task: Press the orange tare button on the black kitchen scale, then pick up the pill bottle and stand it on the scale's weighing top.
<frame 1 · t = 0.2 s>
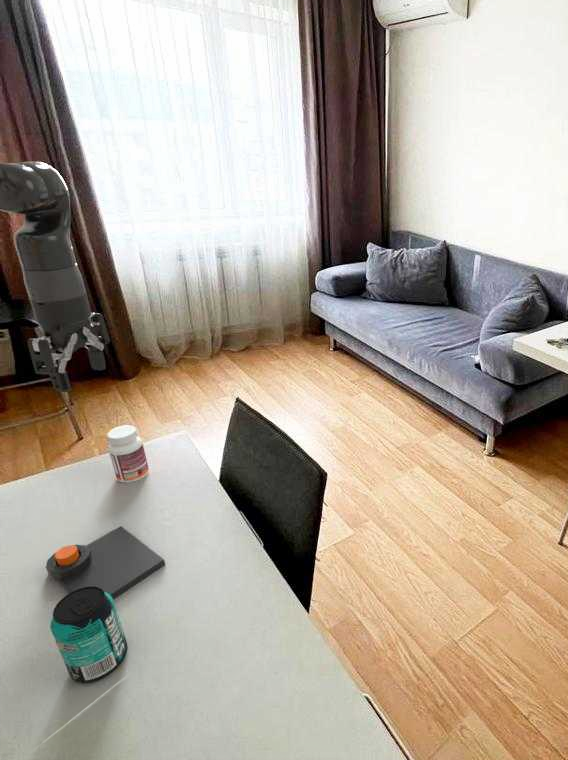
hand: (82, 379, 88), 28 cm above the table, tool pointing down, fingers open, 8 cm apart
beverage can: (100, 662, 71), on the table
tare button: (67, 555, 83), point 4 cm above the table, slide at 0.1 cm
scale: (108, 569, 85), on the table
pill bottle: (133, 475, 108), on the table
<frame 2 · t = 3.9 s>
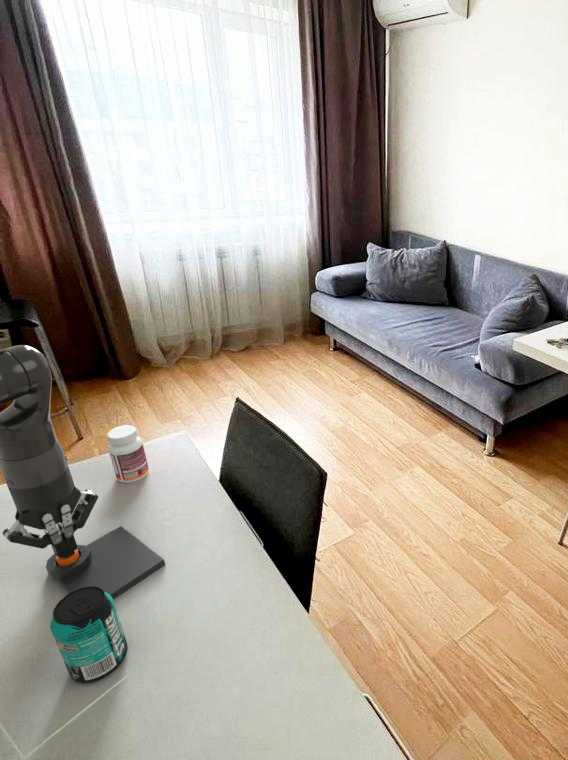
hand: (67, 554, 83), 4 cm above the table, tool pointing down, fingers closed
tare button: (68, 558, 83), point 3 cm above the table, slide at -0.4 cm, touching gripper
everything else where it was.
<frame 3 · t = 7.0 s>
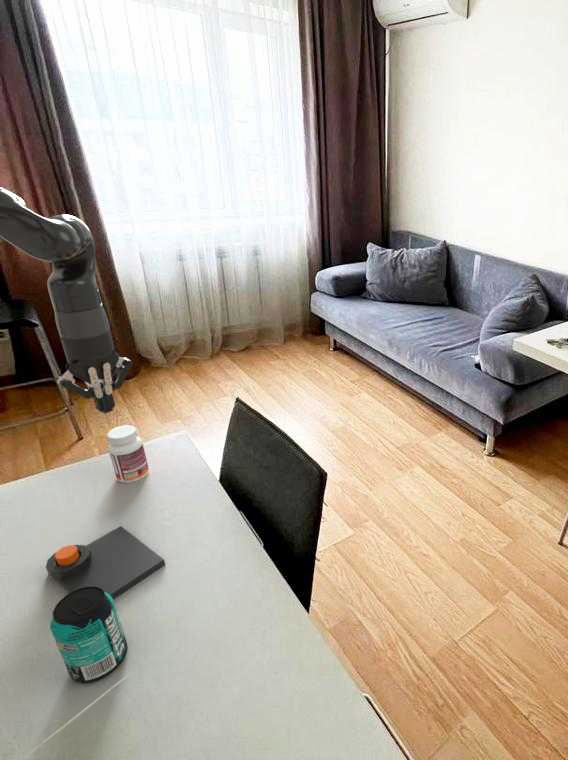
hand: (106, 411, 97), 19 cm above the table, tool pointing down, fingers closed
tare button: (67, 555, 83), point 4 cm above the table, slide at 0.1 cm
everything else where it was.
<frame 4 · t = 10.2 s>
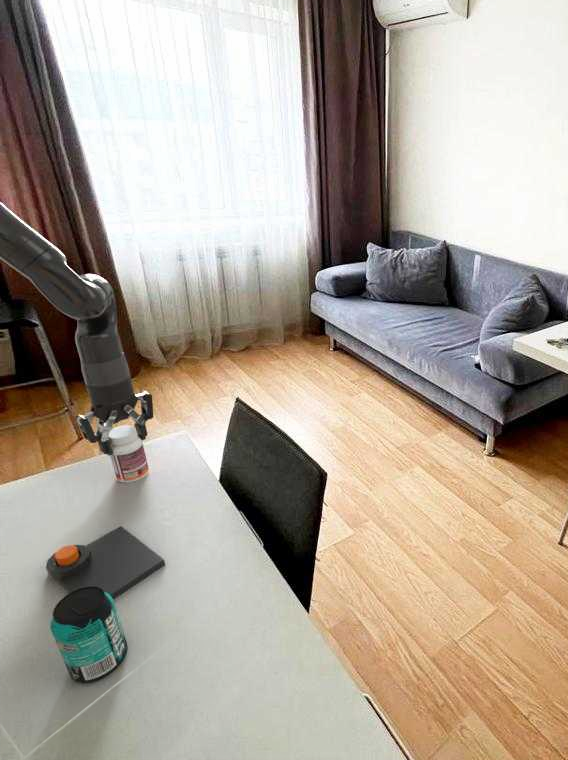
hand: (125, 445, 105), 8 cm above the table, tool pointing down, fingers closed on pill bottle, 6 cm apart
pill bottle: (133, 475, 108), on the table, touching gripper
everything else where it was.
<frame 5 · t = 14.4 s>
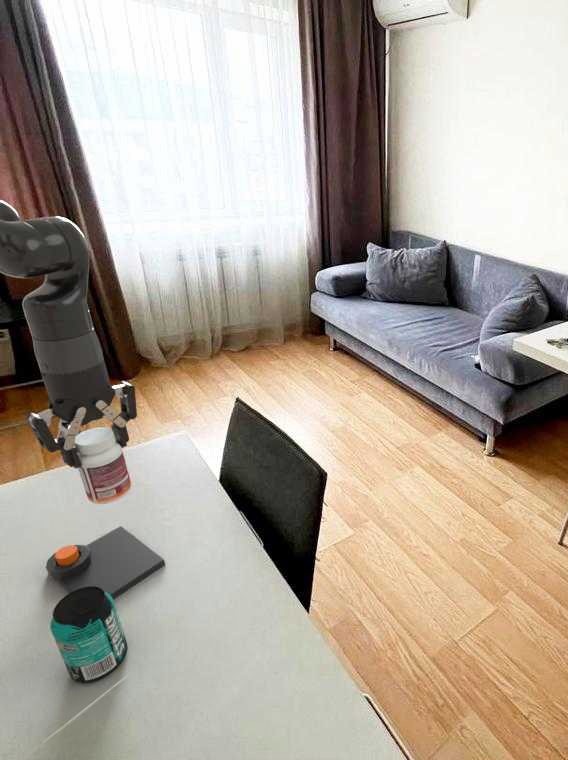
hand: (99, 455, 78), 22 cm above the table, tool pointing down, fingers closed on pill bottle, 6 cm apart
pill bottle: (110, 493, 82), point 15 cm above the table, touching gripper
everything else where it was.
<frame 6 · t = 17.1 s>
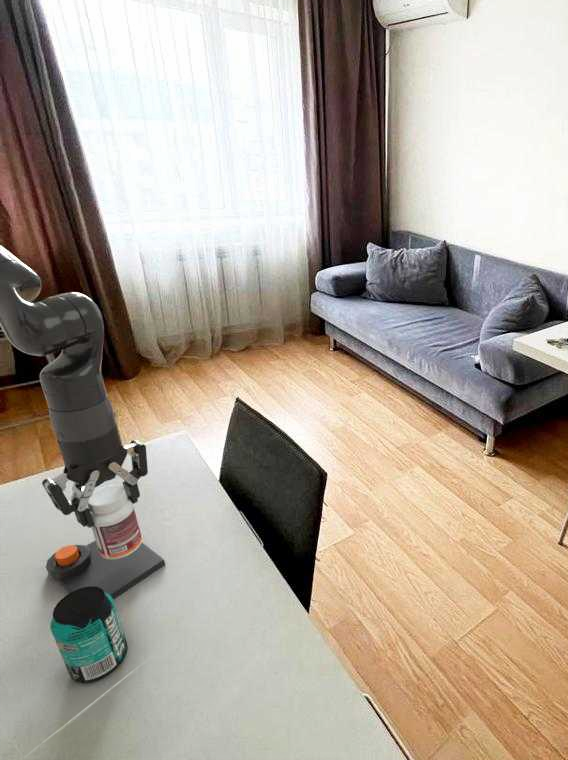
hand: (111, 512, 81), 13 cm above the table, tool pointing down, fingers closed on pill bottle, 6 cm apart
pill bottle: (121, 547, 84), point 5 cm above the table, touching gripper
everything else where it was.
when the fingers open (9 cm above the table, at t = 18.9 s): pill bottle stays where it is, resting on scale.
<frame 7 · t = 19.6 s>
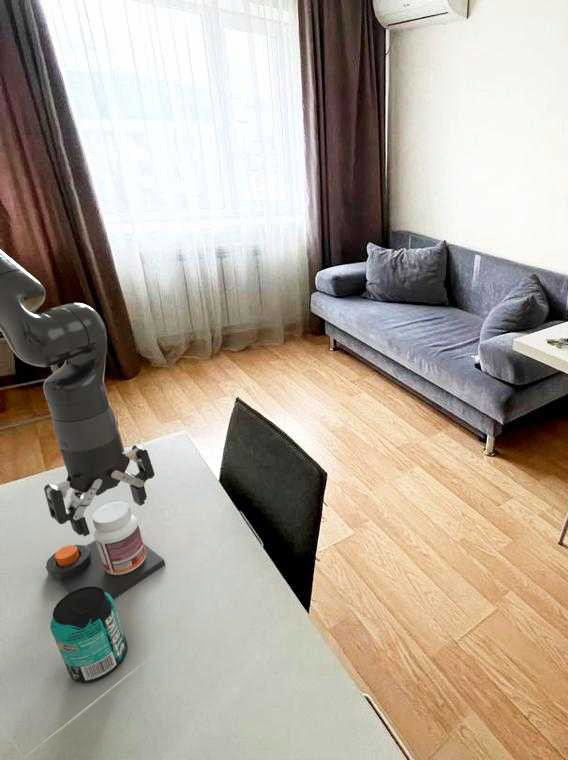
hand: (113, 517, 81), 12 cm above the table, tool pointing down, fingers open, 8 cm apart
pill bottle: (126, 563, 85), point 1 cm above the table, touching scale
everything else where it was.
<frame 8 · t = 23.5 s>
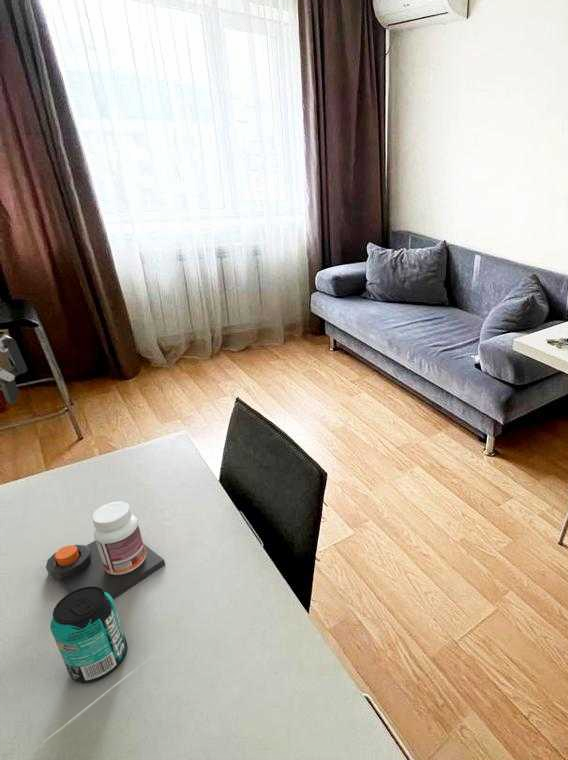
nothing on the table moved.
at the end: tare button pushed in 0.9 cm at the most during the clip, back to where it started at the end; pill bottle inside the target area on the scale (0.5 cm from its centre), point 1.2 cm above the scale's base; pill bottle tilted 0° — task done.
